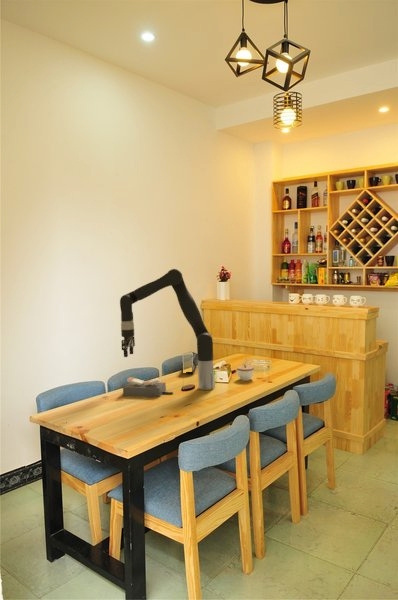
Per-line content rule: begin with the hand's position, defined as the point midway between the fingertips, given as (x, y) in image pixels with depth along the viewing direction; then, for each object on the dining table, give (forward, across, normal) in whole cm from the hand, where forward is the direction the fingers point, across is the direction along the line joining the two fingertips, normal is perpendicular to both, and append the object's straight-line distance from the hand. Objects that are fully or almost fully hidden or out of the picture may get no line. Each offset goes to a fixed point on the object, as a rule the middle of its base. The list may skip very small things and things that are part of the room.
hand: (128, 355), depth 268 cm
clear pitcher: (+22, +57, -23) cm, 65 cm away
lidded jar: (+21, +35, -64) cm, 76 cm away
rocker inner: (+15, -2, -16) cm, 22 cm away
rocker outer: (+15, -3, -5) cm, 16 cm away
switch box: (+22, -3, -13) cm, 26 cm away
